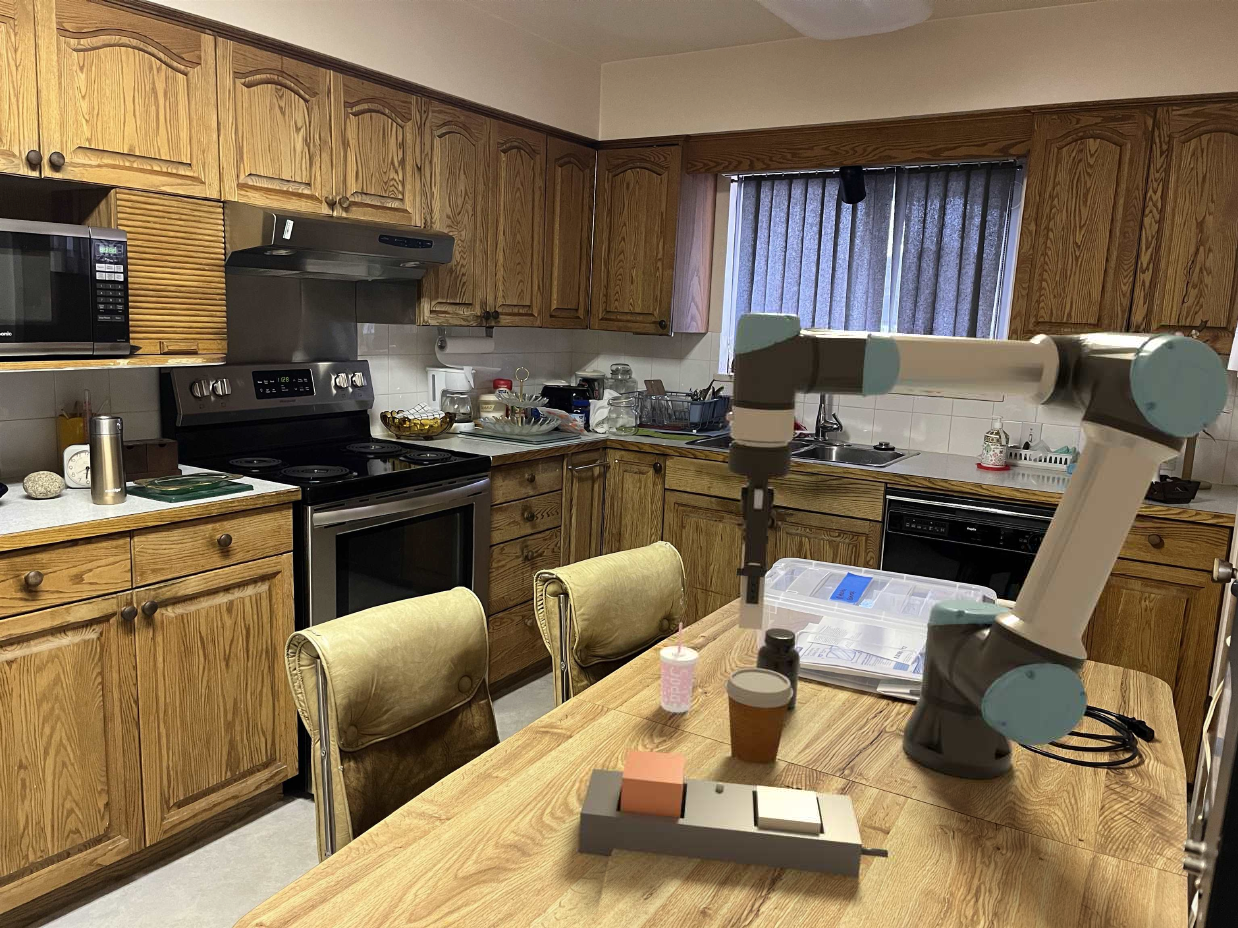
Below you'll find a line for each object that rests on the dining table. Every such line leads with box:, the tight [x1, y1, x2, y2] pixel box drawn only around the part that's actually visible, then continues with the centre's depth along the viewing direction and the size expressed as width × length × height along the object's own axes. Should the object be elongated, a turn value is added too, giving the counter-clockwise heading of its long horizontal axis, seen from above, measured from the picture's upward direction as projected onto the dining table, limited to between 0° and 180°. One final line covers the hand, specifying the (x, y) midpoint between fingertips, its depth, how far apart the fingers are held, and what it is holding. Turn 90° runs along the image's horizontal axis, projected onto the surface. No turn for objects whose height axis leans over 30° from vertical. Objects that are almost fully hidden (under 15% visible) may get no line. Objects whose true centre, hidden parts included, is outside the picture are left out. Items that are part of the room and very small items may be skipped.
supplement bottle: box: [755, 627, 801, 711], centre depth 150 cm, size 7×7×12 cm
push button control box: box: [578, 768, 889, 878], centre depth 110 cm, size 36×10×6 cm, turn 83°
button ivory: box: [754, 785, 821, 834], centre depth 109 cm, size 7×7×5 cm
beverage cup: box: [659, 622, 699, 713], centre depth 146 cm, size 6×6×14 cm
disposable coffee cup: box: [724, 667, 793, 765], centre depth 131 cm, size 10×10×12 cm
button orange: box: [620, 749, 686, 818], centre depth 110 cm, size 7×7×5 cm
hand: (750, 609), depth 115 cm, fingers open, 13 cm apart
